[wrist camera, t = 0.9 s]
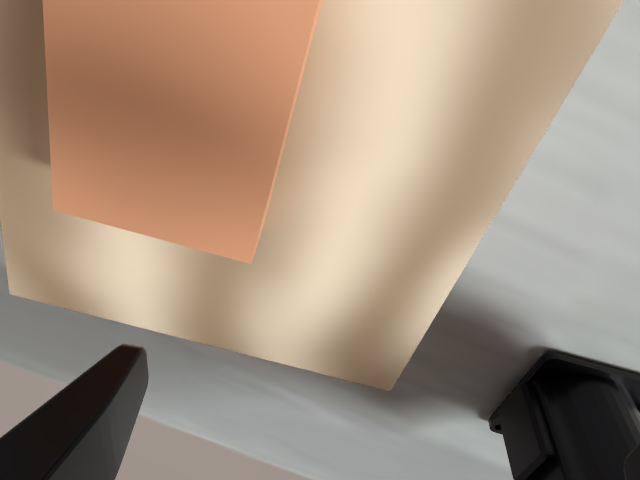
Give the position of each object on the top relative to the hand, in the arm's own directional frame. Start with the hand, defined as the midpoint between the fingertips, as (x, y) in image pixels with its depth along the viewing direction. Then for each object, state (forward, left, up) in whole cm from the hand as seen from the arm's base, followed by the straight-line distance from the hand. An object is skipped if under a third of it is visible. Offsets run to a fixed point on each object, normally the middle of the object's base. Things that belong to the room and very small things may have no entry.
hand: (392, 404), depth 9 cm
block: (+6, -2, -8) cm, 10 cm away
